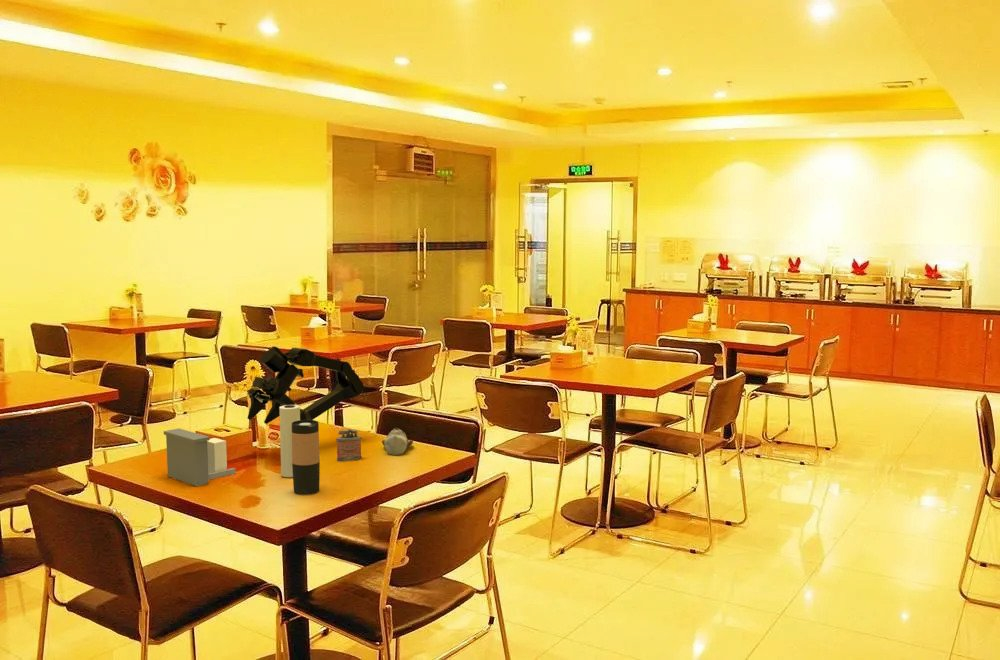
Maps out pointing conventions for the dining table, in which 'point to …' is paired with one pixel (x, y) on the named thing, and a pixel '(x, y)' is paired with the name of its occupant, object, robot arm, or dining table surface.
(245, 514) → the dining table surface
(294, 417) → the paper towel roll
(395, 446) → the ceramic sculpture
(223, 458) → the cream rectangular block
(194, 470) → the grey boxy piece
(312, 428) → the travel mug
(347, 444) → the lighter
